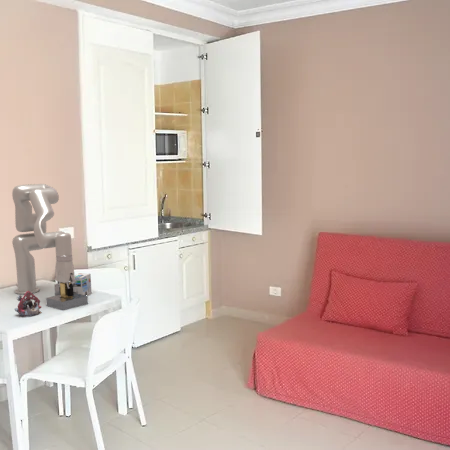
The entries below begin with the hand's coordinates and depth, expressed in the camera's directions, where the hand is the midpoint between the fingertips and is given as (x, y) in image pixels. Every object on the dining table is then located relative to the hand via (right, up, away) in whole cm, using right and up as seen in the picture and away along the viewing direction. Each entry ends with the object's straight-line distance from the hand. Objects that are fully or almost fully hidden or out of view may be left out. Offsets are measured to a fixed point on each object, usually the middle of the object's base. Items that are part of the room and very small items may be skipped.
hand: (66, 294), depth 271 cm
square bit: (0, -5, +1) cm, 5 cm away
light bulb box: (+2, -3, +20) cm, 20 cm away
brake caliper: (-13, -7, -14) cm, 21 cm away
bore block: (0, -5, +1) cm, 5 cm away
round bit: (-8, -3, +20) cm, 22 cm away
